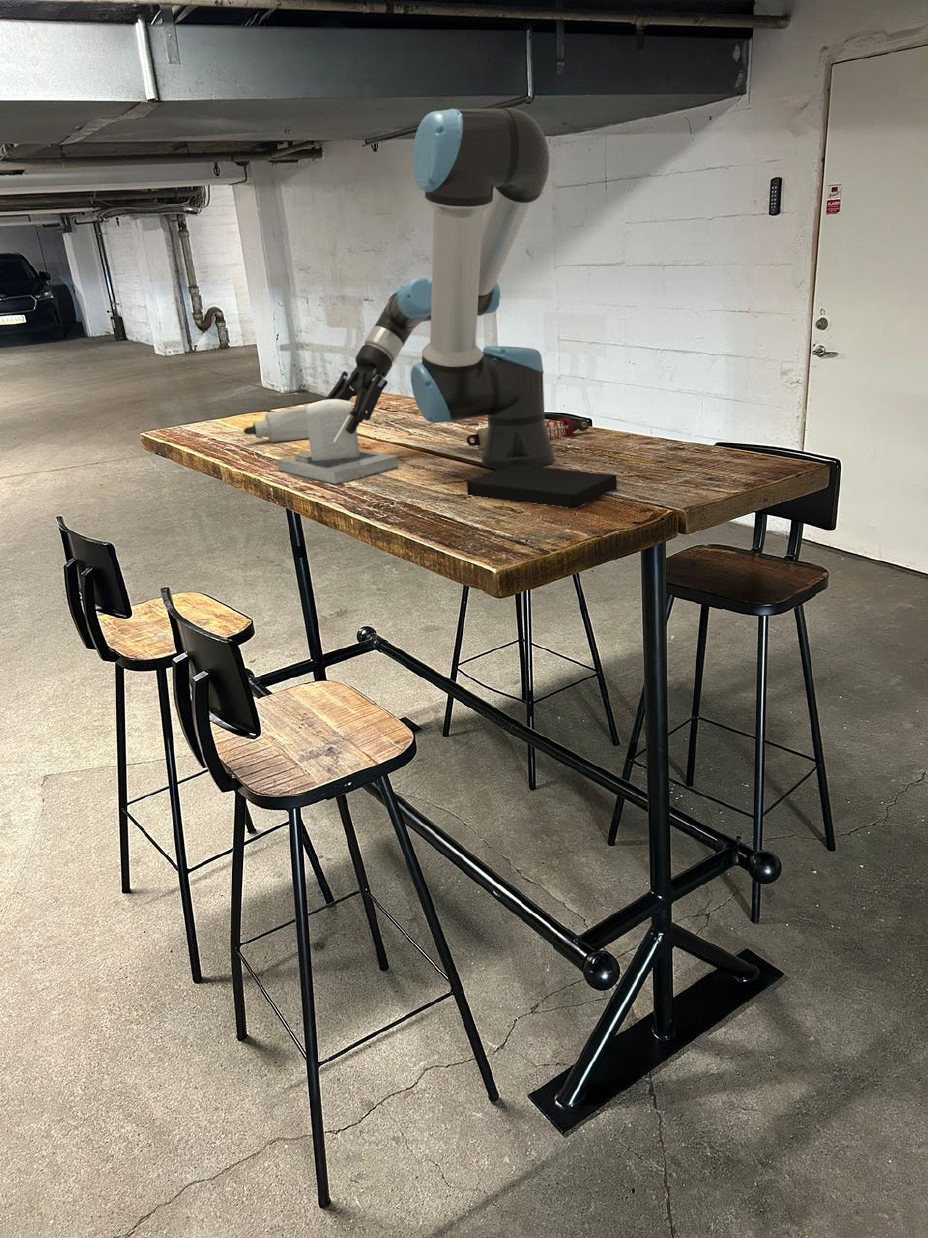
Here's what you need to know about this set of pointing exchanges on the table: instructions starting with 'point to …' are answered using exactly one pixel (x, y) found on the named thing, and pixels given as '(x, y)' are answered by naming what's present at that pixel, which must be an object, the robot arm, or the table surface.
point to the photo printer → (329, 430)
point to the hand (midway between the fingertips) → (326, 442)
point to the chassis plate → (338, 466)
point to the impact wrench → (281, 425)
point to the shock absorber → (567, 426)
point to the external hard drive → (542, 485)
